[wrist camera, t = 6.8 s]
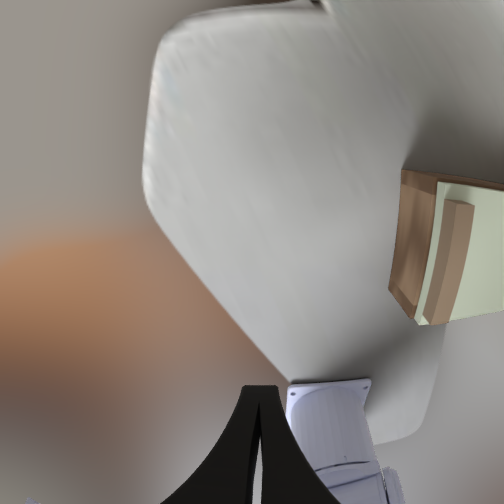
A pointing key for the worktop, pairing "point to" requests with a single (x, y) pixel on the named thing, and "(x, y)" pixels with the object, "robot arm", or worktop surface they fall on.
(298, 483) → the robot arm
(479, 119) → the worktop surface
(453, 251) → the wood-edged cream panel
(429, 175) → the pencil box
